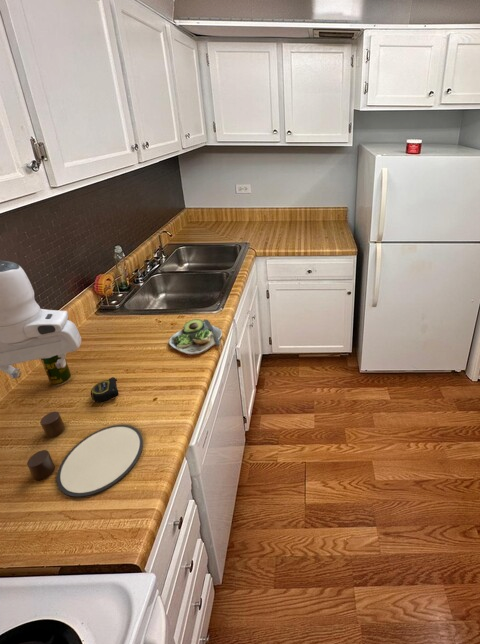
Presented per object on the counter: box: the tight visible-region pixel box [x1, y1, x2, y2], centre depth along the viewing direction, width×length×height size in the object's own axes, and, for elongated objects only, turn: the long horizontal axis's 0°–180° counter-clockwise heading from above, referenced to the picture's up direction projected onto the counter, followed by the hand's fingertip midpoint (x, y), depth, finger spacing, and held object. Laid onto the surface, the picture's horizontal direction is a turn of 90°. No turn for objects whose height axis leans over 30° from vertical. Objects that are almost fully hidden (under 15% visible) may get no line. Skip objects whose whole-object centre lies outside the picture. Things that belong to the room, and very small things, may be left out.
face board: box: [56, 424, 144, 499], centre depth 81 cm, size 18×18×1 cm
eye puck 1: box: [40, 411, 66, 439], centre depth 87 cm, size 4×4×5 cm
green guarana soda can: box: [40, 355, 72, 387], centre depth 102 cm, size 5×5×12 cm
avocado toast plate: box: [168, 318, 223, 355], centre depth 122 cm, size 19×18×5 cm
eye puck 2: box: [26, 449, 56, 482], centre depth 77 cm, size 4×4×5 cm
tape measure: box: [90, 377, 120, 404], centre depth 98 cm, size 7×7×4 cm
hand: (39, 371), depth 83 cm, fingers open, 8 cm apart
